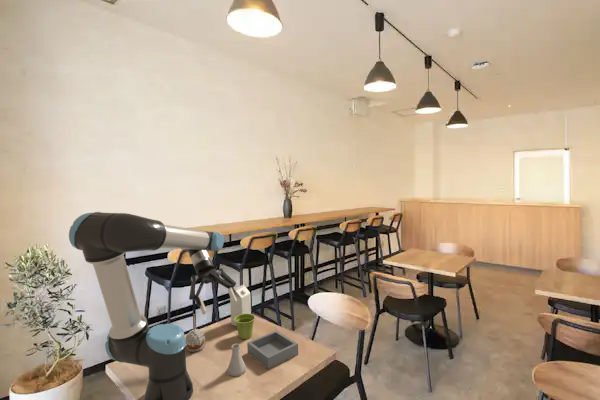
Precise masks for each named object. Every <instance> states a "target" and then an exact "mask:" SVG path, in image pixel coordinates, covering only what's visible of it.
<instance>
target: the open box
mask: <svg viewBox="0 0 600 400" xmlns="http://www.w3.org/2000/svg"><path fill="white" fill-rule="evenodd" d="M246 349H247V354H248V355H250V356H251V357H252V358H254V360H256V361H257V362H258V363H259V364H261V365H262V366H263V367H265V368H266V369H267V370H271V369H273V368H274V367H276V366H278V365H280V364H282V363H284V362H285V361H289V359H292V358H293V357H295V356H297V355H299V343H298V342H296V341H295V340H292V339H291V338H290V337H287V336H286V334H285V335H284V334H283V333H281V332H280V331H278V330H274V331H271V332H269V333H267V334H264V335H262V336H260V337H258V338H255V339H252V340H250V341H247V348H246Z"/></svg>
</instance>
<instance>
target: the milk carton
mask: <svg viewBox="0 0 600 400" xmlns="http://www.w3.org/2000/svg"><path fill="white" fill-rule="evenodd" d="M234 290H235V292H236V294H235V297H236V299H237V302H236V303H235V304H233V302H232V299H231V297H230V296H229V299H230V301H229V302H230V325H232V326H235V327H237V325H236V322H235V321H234V318H235V317H236V316H238V315H240V314H252V304H251V303H252V301H251V300H252V299H251V297H252V296H251V292H250V290H249V289H248V288H247V287H246V286H245V283H243V284H241V285H240V286H238V287H236V288H234Z"/></svg>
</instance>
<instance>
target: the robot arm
mask: <svg viewBox="0 0 600 400" xmlns="http://www.w3.org/2000/svg"><path fill="white" fill-rule="evenodd" d="M68 239H69V243H70V244H71V245H72V247H73V248H75V249H77V250H79V251H82V254H83V258H84V260H85V262H86V263H88V264H92V266H93V270H94V271H95V276H96V278H97V282H98V285H99V288H100V291H101V295H102V298H103V301H104V304H105V308H106V311H107V314H108V316H109V320H110V323H111V327H110V329H109V331H108V334H107V336H106V341H105V344H104V347H105V348H104V349H105V352H106V354H107V356H108V357H109V359H111V360H113V361H116V362H118V363H125V364H130V365H135V366H140V367H146V368H148V377H149V378H148V382H147V384H146V385H147V386H146V389H145V393H144V398H143V399H144V400H191V398H192V395H193V393H194V387H193V385H194V384H193V381H192V378H191V376H190V375H189V372H188V370H187V354H186V353H187V349H186V346H187V345H186V340H185V339H186V337H185V333H184V329H183V328H182V327H181V326H179V325H178V324H174V323H165V324H164V323H161V324H157V325H154V326H152V327H150V326H149V323H148V320H147V317H146V316H145V315H141V313H140V309H139V305H138V303H137V302H138V301H137V298H136V294H135V292H134V289H133V283H132V280H131V277H130V274H129V270H128V266H127V261H126V258H125V256H124V255H125V254H126V253H131V252H143V251H144V252H145V251H157V250H159V249H161V248H162V249H179V250H183V251H185V252H188V255H189V257H190V260H191V263H192V266H193V267H194V270H195V273H196V274H192V275H191V277H190V282H191V285H190V290H189V297H188V299H189V300H191V301H192V300H193V301H195V304H196V306H197V307H198V308H200V311H201V313H202V315H205V314H206V313H207V309H206V305H205V303H204V301H203V298H202V296H200V294H201V291H202V289H203V287H204V284H206V285H207V284H210V283H217V284H219V285H221V286H223V287H224V288H225V289H228V290H227V292H228V295H229V298H230V297H231V299H232V302H233V304H235V303H236V302H237V299H236V297H235V294H236V292H235V288H234V287H236V285H237V283H236V281H235V280H234V279H233V278H232V277H230V276H229V275H228V274H227V273H226V272H225V271H224V269H223V268H221V267H220V268H219V269H218V270H216V269H215V265H214V264H213V262H212V259H211V257H210V255H209V252H208V251H212V252H214V251H216V252H217V251H220V250H222V248H223V247H224V241H225V238H224V235H223V233H221V232H218V231H206V230H201V229H200V230H199V229H195V228H188V227H187V228H186V227H183V226H182V227H181V226H175V225H169V224H168V225H167V224H165V223H163V222H162V221H160V220H157V219H151V218H147V217H144V216H140V215H136V214H131V213H126V212H125V213H123V212H120V213H119V212H101V211H95V212H87V213H83V214H81V215H79V216H77V218H75V220H74V221H73V222H72V225H71V226H70V227H69V232H68ZM197 280H198V281H200V283H199V285H198V288H197V290H195V288H196V282H197ZM195 291H196V293H195Z"/></svg>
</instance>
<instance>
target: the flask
mask: <svg viewBox="0 0 600 400" xmlns="http://www.w3.org/2000/svg"><path fill="white" fill-rule="evenodd" d="M240 347H241V345H240V343H233V344H232V345H231V347H230V348H231V352H232V353H231V358H230V361H229V364H228V366H227V372H226V374H227V375H229V376H231V377H238V376H242V375H243V374H244V373H245V372H246V369H247V366H246V363H245V362H244V360H243V357H242V353H241V351H240Z"/></svg>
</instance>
